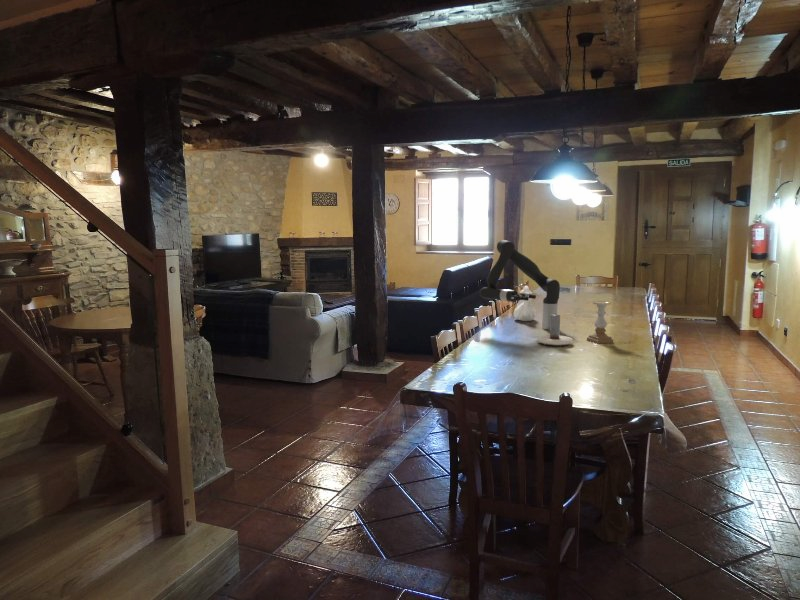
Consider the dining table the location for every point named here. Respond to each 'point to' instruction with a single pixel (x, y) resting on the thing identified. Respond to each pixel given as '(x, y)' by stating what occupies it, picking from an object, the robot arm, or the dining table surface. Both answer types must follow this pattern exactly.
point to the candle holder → (600, 325)
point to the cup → (554, 326)
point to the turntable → (561, 341)
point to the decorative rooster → (525, 308)
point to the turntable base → (554, 345)
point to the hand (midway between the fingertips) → (531, 297)
